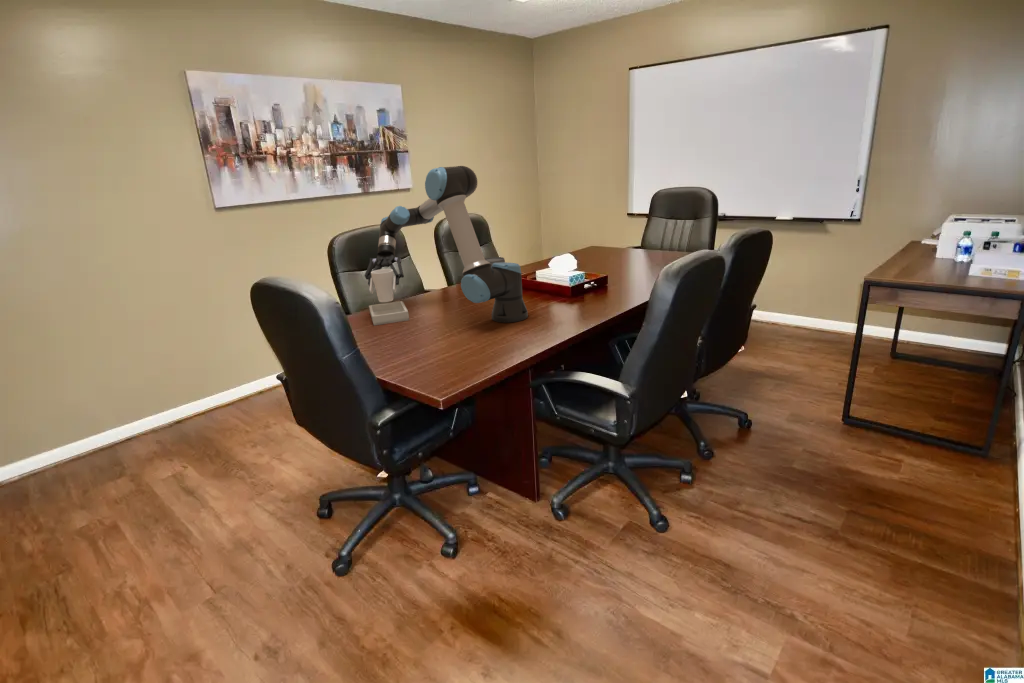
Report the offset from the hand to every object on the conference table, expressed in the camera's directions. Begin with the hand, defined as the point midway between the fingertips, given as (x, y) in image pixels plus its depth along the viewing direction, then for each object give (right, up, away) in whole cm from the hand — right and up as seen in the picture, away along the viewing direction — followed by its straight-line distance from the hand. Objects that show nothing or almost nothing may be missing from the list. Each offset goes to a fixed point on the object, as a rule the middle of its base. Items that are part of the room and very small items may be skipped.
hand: (382, 291), depth 227 cm
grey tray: (+1, -11, +7) cm, 13 cm away
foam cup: (0, -4, +5) cm, 6 cm away
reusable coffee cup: (+47, +6, +46) cm, 66 cm away
